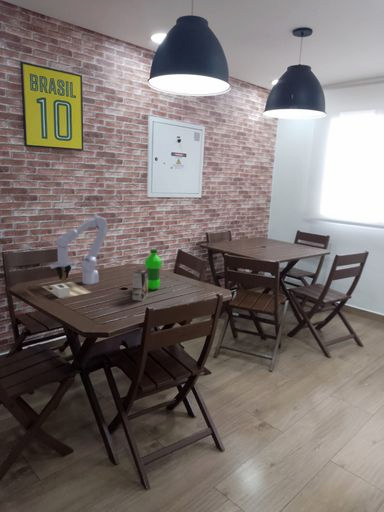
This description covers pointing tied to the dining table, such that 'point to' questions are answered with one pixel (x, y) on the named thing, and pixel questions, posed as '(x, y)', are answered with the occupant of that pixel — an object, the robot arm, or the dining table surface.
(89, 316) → the dining table surface
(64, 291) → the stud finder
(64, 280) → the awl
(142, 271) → the coffee box
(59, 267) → the robot arm
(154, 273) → the plastic bottle
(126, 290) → the dining table surface
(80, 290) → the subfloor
